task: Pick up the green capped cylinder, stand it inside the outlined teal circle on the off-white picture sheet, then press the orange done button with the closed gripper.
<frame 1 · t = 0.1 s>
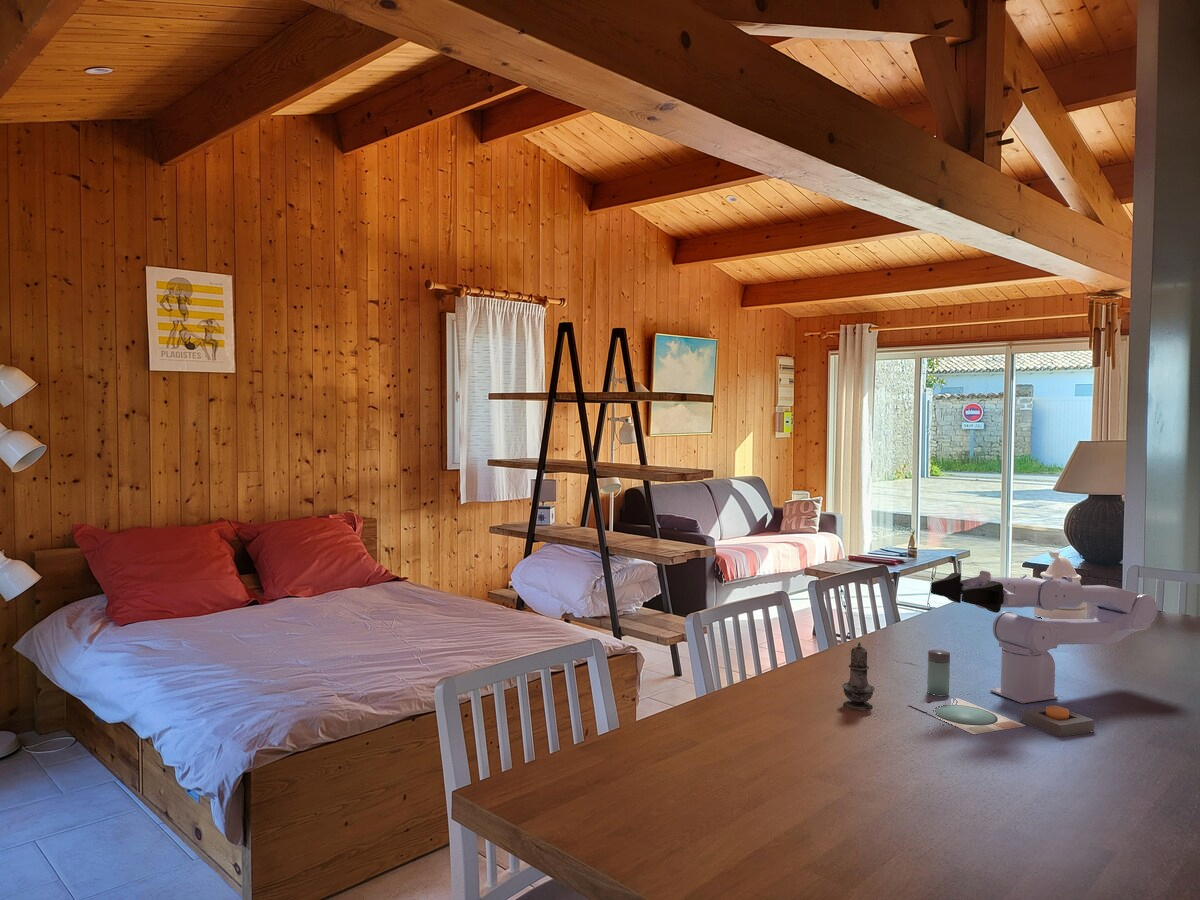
hand: (947, 591, 162), 22 cm above the table, tool horizontal, fingers open, 7 cm apart
picture sheet: (964, 715, 158), on the table
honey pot: (1059, 618, 239), on the table
green capped cylinder: (938, 692, 171), on the table
button housing: (1056, 726, 153), on the table
done button: (1057, 713, 153), point 2 cm above the table, slide at 0.0 cm
salt shaker: (857, 707, 162), on the table
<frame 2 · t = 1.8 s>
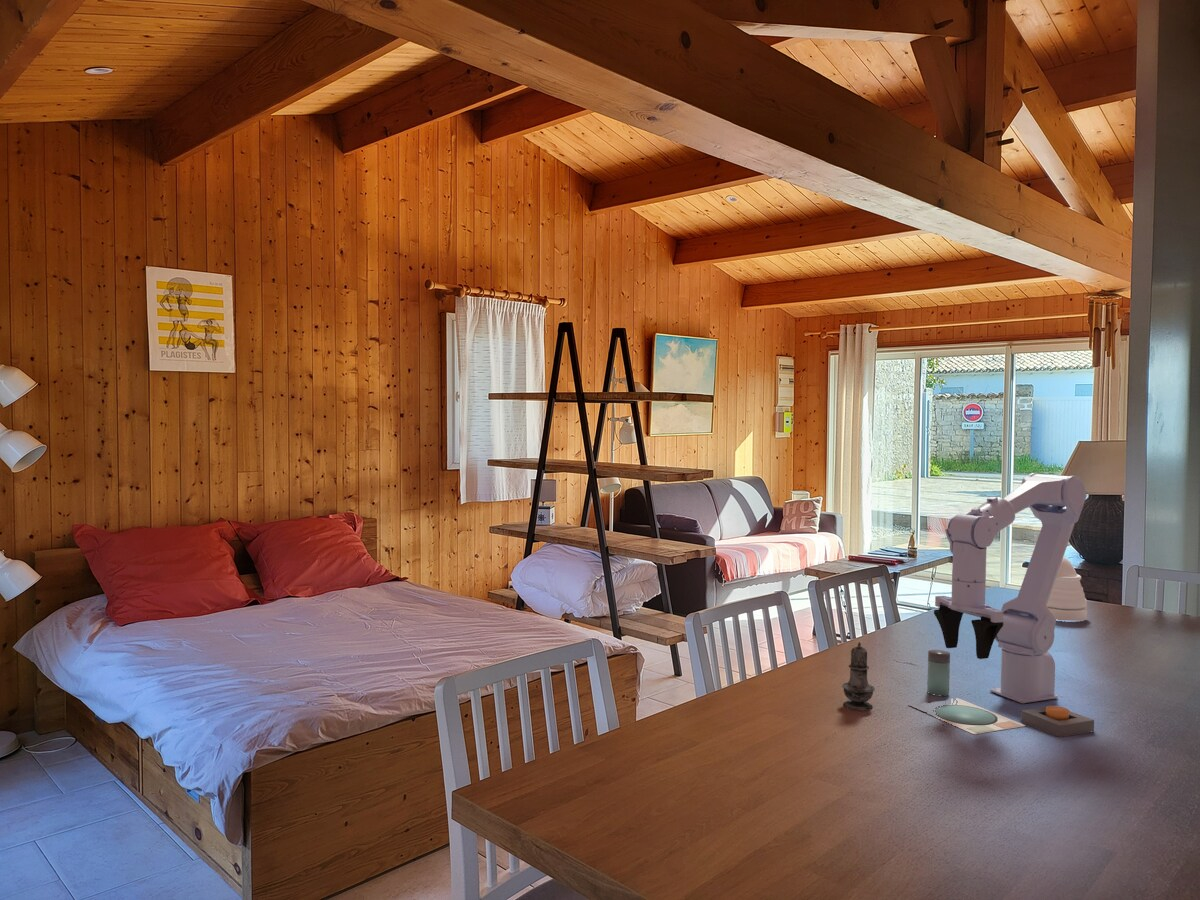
hand: (966, 652, 161), 10 cm above the table, tool pointing down, fingers open, 7 cm apart
nothing on the table moved.
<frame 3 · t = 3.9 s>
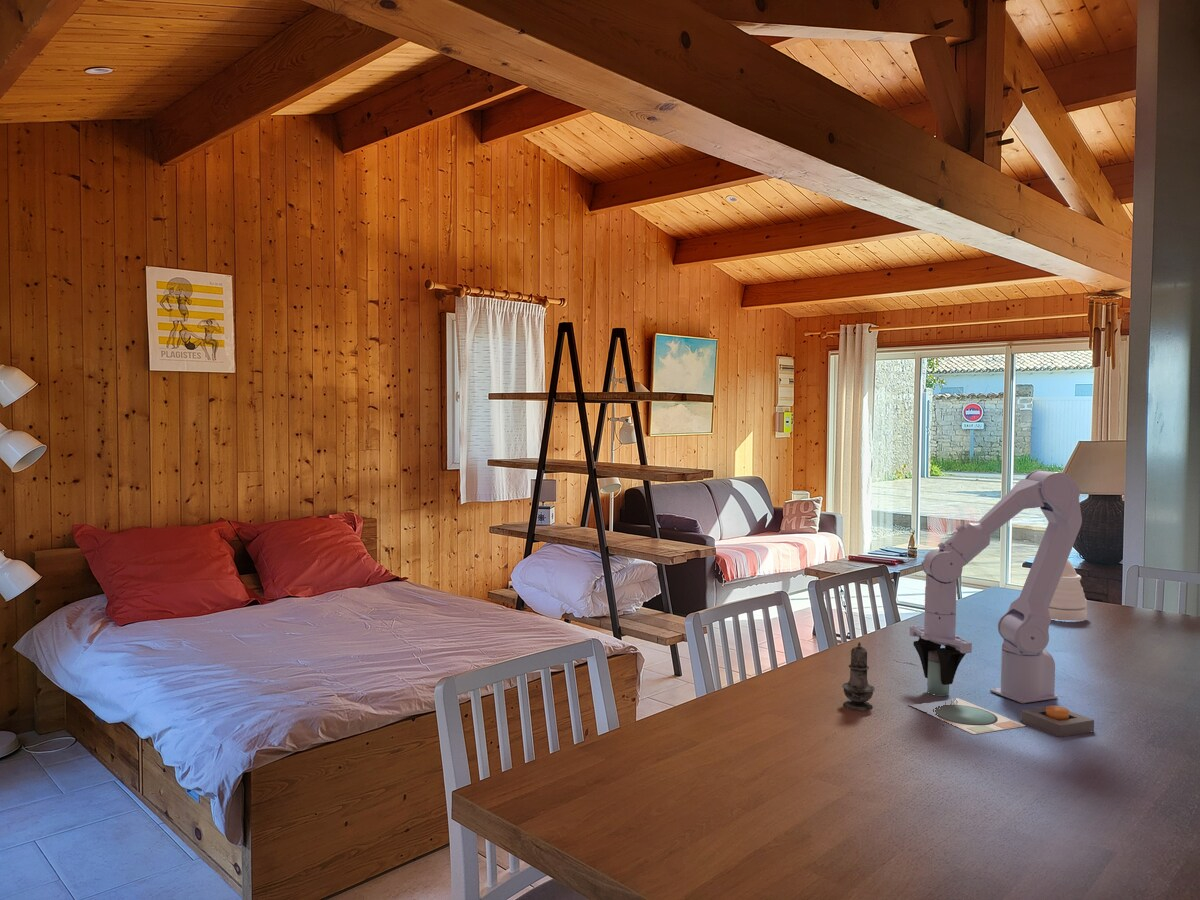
hand: (938, 680, 171), 2 cm above the table, tool pointing down, fingers closed on green capped cylinder, 4 cm apart
green capped cylinder: (938, 692, 171), on the table, touching gripper
everything else where it was.
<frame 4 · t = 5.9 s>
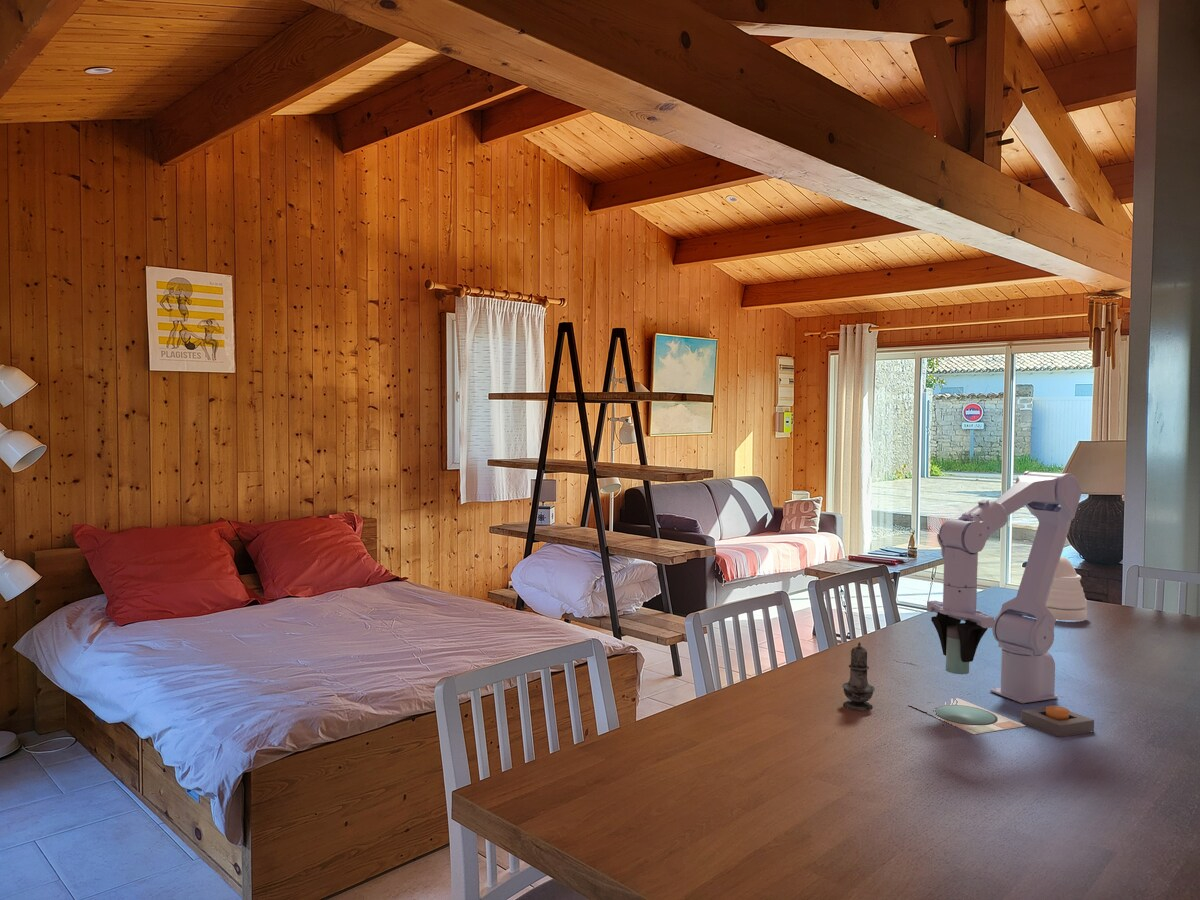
hand: (957, 658, 161), 9 cm above the table, tool pointing down, fingers closed on green capped cylinder, 4 cm apart
green capped cylinder: (957, 671, 161), point 7 cm above the table, touching gripper
everything else where it was.
when the fingers open (4 cm above the table, at t = 7.8 s): green capped cylinder drops 1 cm, resting on picture sheet.
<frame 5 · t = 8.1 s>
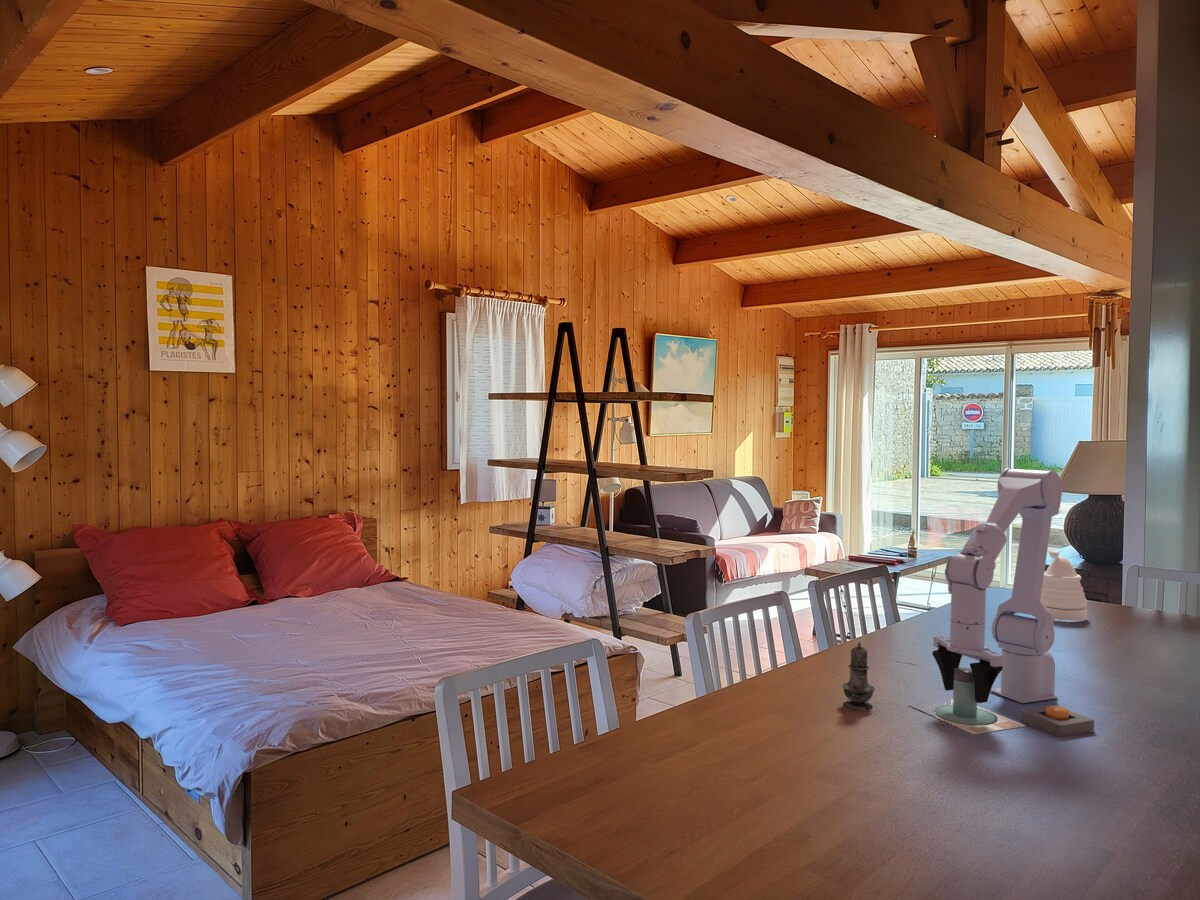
hand: (965, 695, 158), 4 cm above the table, tool pointing down, fingers open, 7 cm apart
green capped cylinder: (964, 714, 158), resting on picture sheet
everything else where it was.
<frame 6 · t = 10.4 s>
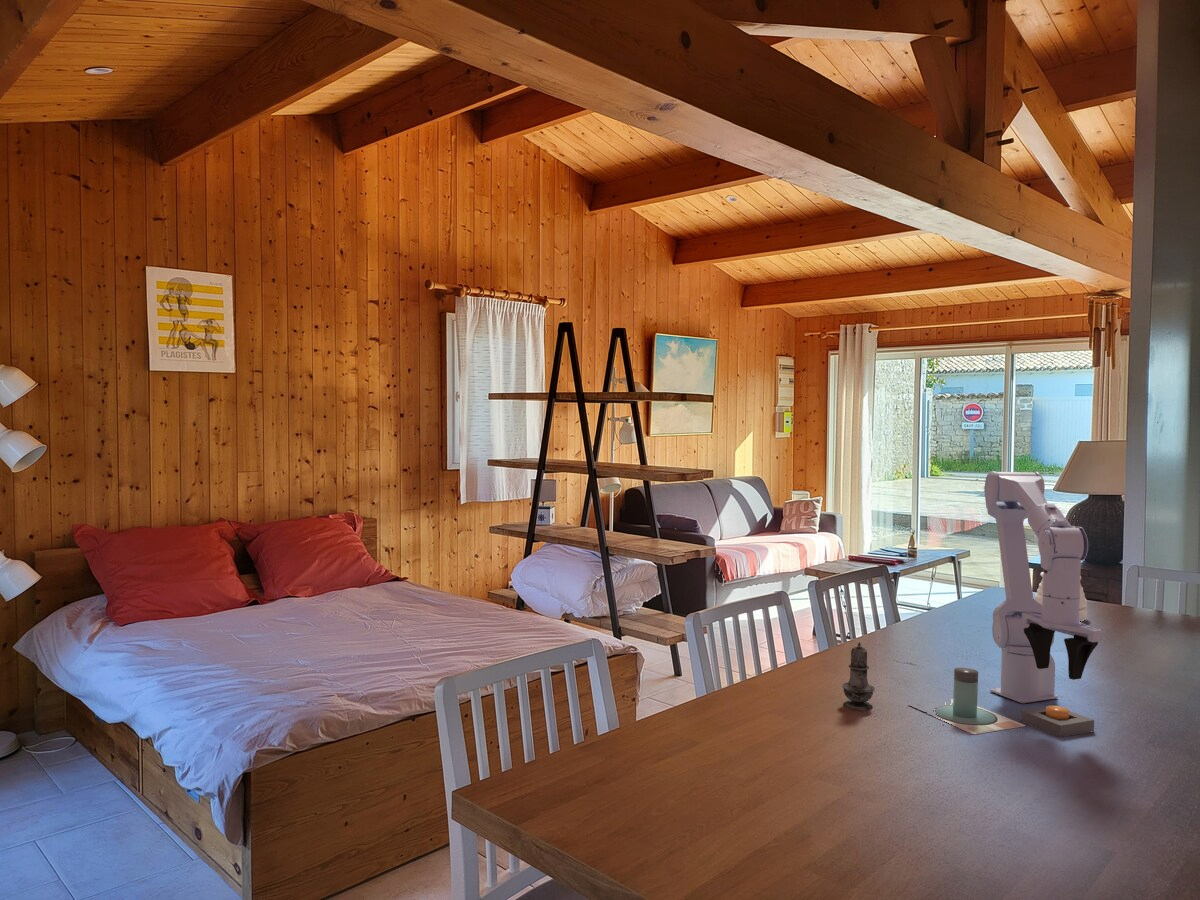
hand: (1058, 673, 152), 9 cm above the table, tool pointing down, fingers open, 6 cm apart
nothing on the table moved.
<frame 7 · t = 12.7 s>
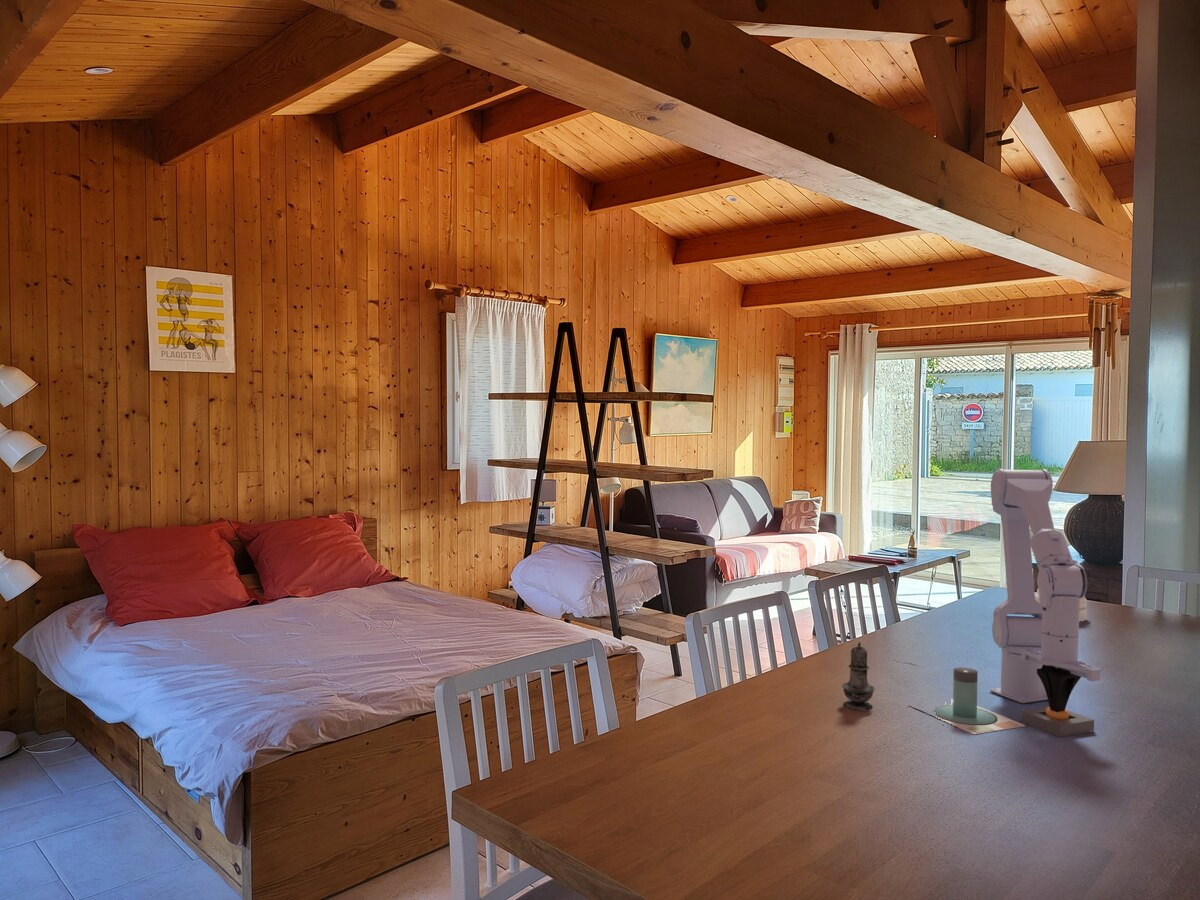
hand: (1057, 710, 152), 3 cm above the table, tool pointing down, fingers closed, pressing on done button
done button: (1057, 714, 153), point 2 cm above the table, slide at 0.2 cm, touching gripper
everything else where it was.
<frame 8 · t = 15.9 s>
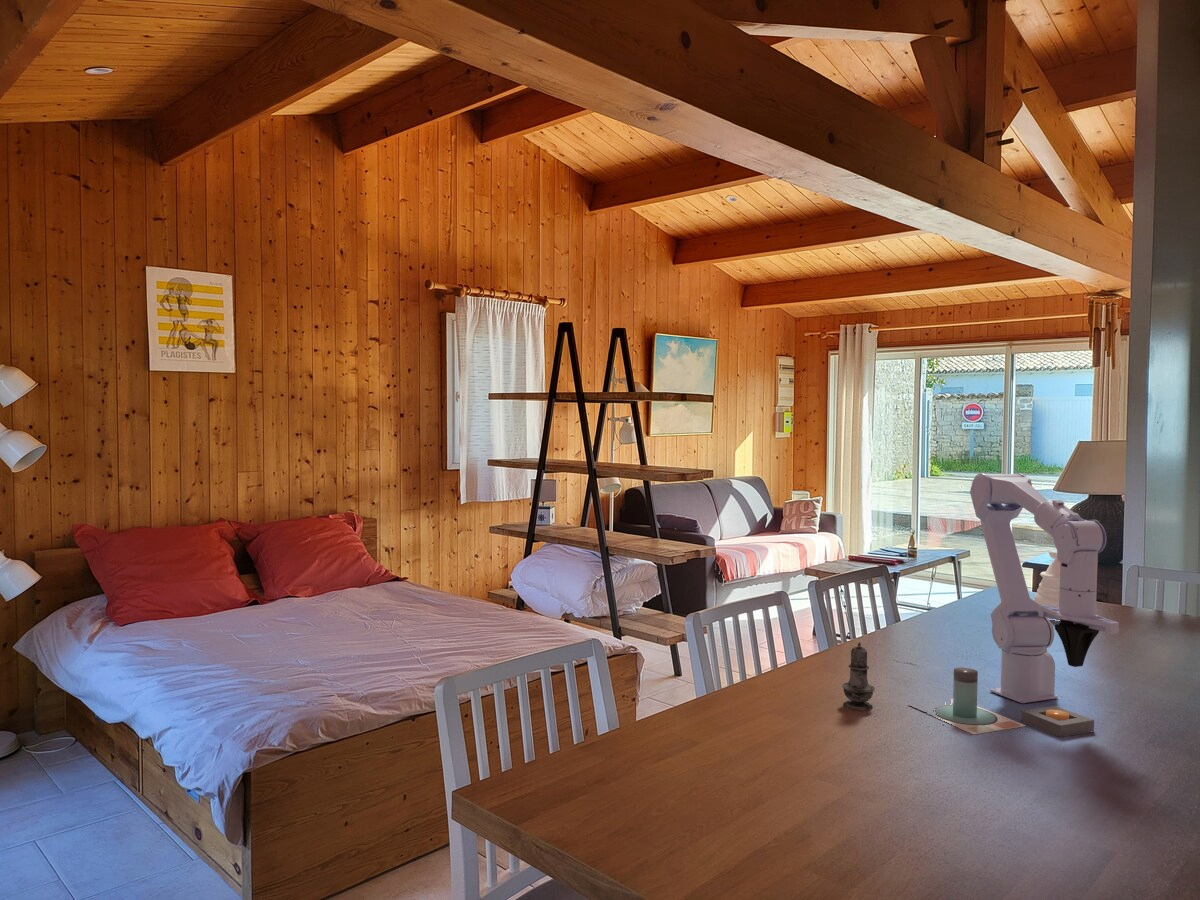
hand: (1075, 665, 154), 10 cm above the table, tool pointing down, fingers closed
done button: (1057, 717, 153), point 2 cm above the table, slide at 0.7 cm
everything else where it was.
at the end: green capped cylinder 0.1 cm from the target spot, resting on picture sheet; green capped cylinder tilted 1°; done button slide at 0.7 cm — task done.
